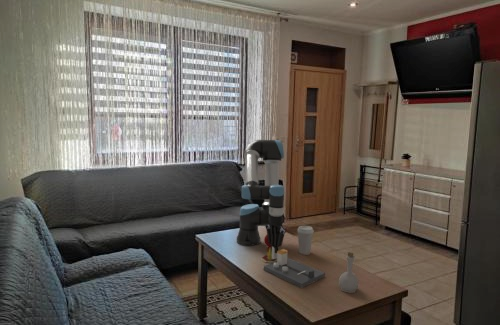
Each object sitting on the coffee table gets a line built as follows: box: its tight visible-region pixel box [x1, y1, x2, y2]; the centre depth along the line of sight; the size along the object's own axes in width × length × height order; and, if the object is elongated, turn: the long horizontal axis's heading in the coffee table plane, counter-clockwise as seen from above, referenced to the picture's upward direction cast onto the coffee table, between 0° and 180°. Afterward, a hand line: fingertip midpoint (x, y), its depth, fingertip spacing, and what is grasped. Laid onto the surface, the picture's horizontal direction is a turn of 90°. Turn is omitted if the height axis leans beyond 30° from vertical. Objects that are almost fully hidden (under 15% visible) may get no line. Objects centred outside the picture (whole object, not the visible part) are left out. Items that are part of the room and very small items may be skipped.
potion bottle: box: [338, 251, 360, 294], centre depth 159 cm, size 9×9×18 cm
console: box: [263, 257, 326, 289], centre depth 175 cm, size 25×18×5 cm
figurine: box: [260, 234, 277, 264], centre depth 191 cm, size 9×10×15 cm
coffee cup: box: [296, 225, 315, 256], centre depth 202 cm, size 10×10×15 cm
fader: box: [277, 248, 289, 266], centre depth 180 cm, size 3×5×7 cm
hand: (274, 258), depth 184 cm, fingers closed
